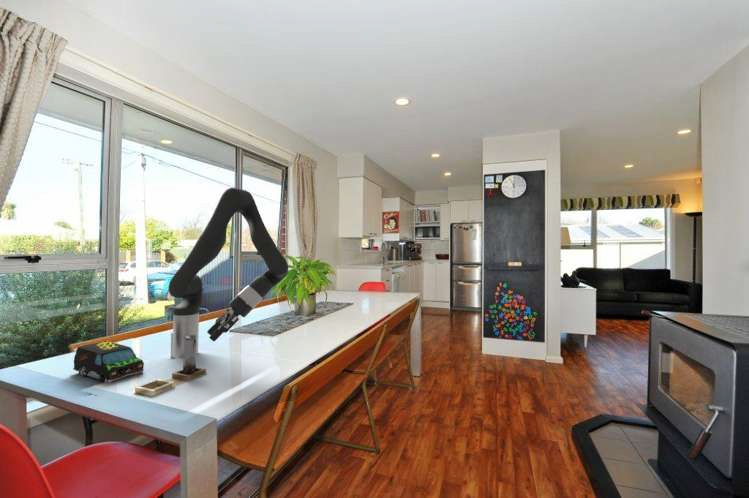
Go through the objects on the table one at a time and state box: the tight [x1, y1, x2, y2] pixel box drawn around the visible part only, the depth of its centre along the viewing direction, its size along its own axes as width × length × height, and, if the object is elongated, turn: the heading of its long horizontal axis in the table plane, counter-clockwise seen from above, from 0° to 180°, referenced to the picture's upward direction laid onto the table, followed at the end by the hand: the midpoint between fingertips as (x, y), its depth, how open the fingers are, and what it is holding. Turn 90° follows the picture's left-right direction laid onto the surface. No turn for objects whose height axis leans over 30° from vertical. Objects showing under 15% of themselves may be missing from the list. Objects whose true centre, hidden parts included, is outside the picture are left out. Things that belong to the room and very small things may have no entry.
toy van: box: [72, 340, 145, 384], centre depth 113 cm, size 11×25×10 cm, turn 63°
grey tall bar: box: [182, 335, 197, 375], centre depth 110 cm, size 4×4×13 cm
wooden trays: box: [133, 366, 207, 398], centre depth 104 cm, size 7×20×3 cm, turn 161°
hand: (210, 336), depth 113 cm, fingers open, 8 cm apart
